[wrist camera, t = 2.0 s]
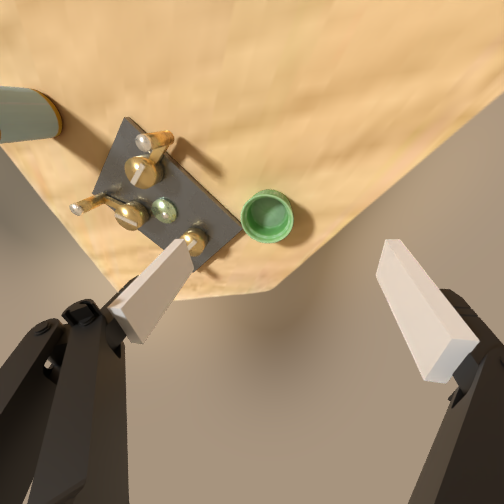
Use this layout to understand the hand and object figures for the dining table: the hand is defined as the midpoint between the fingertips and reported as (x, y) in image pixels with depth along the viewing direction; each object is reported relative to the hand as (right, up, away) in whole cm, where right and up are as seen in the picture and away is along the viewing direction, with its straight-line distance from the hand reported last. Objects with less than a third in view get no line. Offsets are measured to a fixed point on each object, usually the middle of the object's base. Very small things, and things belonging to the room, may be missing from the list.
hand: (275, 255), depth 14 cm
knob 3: (-15, +2, +30) cm, 34 cm away
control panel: (-19, +9, +28) cm, 35 cm away
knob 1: (-28, +9, +28) cm, 40 cm away
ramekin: (+2, +8, +24) cm, 26 cm away
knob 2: (-18, +16, +21) cm, 32 cm away
